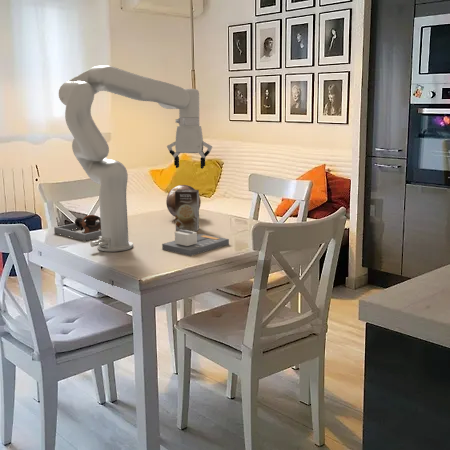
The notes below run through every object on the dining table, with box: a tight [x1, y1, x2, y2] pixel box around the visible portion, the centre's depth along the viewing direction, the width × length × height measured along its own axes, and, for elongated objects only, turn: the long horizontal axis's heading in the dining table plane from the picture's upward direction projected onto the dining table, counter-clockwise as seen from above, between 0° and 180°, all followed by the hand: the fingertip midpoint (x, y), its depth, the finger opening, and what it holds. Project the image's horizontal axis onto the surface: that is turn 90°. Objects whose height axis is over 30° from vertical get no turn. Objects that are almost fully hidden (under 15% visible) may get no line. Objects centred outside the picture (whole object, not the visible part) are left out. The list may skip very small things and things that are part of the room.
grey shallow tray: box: [53, 220, 101, 242], centre depth 237 cm, size 18×20×2 cm
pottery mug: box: [74, 214, 101, 234], centre depth 237 cm, size 12×10×8 cm
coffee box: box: [174, 189, 200, 232], centre depth 239 cm, size 9×6×16 cm
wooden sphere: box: [165, 184, 202, 217], centre depth 260 cm, size 15×15×15 cm
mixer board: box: [161, 233, 230, 257], centre depth 213 cm, size 20×14×2 cm
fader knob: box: [174, 229, 198, 246], centre depth 209 cm, size 5×6×5 cm
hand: (189, 167), depth 226 cm, fingers open, 9 cm apart
